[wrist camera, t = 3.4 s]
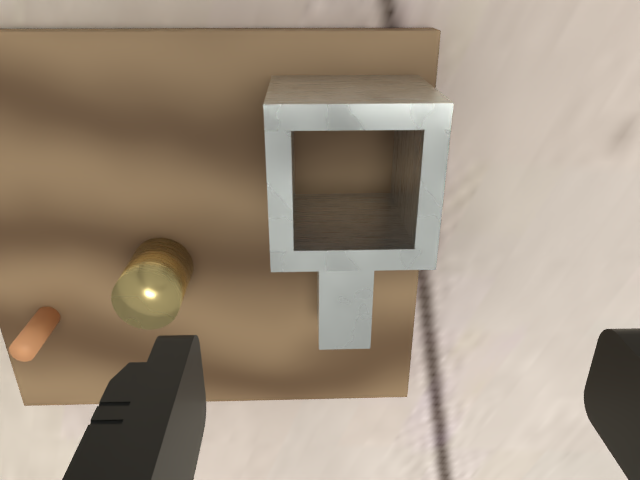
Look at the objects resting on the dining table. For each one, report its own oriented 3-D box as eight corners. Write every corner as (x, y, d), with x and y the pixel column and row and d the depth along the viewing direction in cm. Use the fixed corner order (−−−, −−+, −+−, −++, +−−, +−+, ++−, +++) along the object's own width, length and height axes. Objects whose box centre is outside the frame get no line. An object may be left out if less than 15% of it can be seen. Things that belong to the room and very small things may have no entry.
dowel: (34, 306, 28) (6, 341, 25) (57, 306, 28) (32, 341, 25) (39, 325, 29) (12, 361, 26) (62, 325, 29) (37, 361, 26)
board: (-69, 29, 24) (-92, 32, 22) (432, 27, 24) (440, 30, 23) (35, 387, 32) (24, 405, 31) (402, 379, 33) (406, 396, 32)
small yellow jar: (128, 237, 27) (105, 273, 23) (190, 237, 27) (175, 271, 24) (137, 290, 28) (117, 330, 25) (196, 289, 28) (183, 329, 25)
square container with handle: (271, 75, 23) (263, 104, 18) (418, 74, 24) (453, 103, 18) (280, 315, 29) (276, 393, 23) (399, 313, 29) (422, 390, 24)
